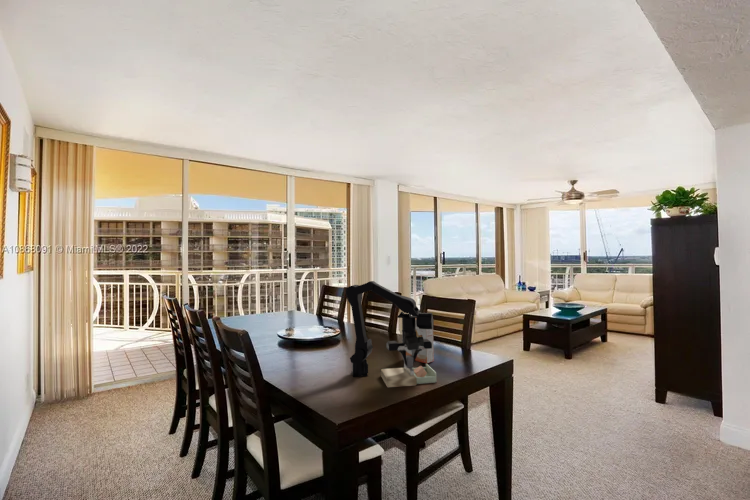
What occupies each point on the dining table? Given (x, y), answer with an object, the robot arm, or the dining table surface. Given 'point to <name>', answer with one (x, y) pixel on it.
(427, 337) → the cracker box
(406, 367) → the scraper
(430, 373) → the tray
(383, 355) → the dining table surface
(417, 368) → the tile
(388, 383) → the board
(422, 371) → the tile
